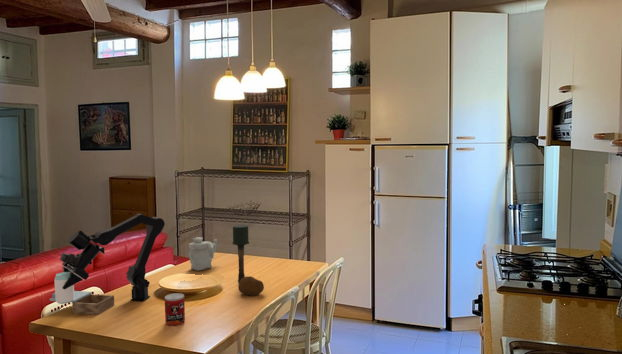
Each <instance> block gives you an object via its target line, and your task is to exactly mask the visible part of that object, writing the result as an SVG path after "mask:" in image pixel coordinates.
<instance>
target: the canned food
mask: <svg viewBox="0 0 622 354" xmlns="http://www.w3.org/2000/svg"><path fill="white" fill-rule="evenodd" d="M185 307H186V306H185V294H183V293H180V292H178V293H177V292H176V293H174V292H173V293H169V294H167V295H165V296H164V317H165V319H164V320H165V324H166V325H167V326H168V327H176V326H181V325H183V324H184V323H185V320H186V316H185V315H186V313H185V311H186V310H185V309H186V308H185Z"/></svg>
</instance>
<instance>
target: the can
mask: <svg viewBox="0 0 622 354" xmlns="http://www.w3.org/2000/svg"><path fill="white" fill-rule="evenodd" d="M69 277H70V272H63V271H61V272H58V273H55V277H54V293H55V297H56V301H55V302H56V303H57V304H60V305H62V304H63V305H64V304H69V303H73V302H72V301H73V300H74V299H75V297H74V291H75V284H74V285H72V286H70V287H68V288H66V289H63V286H64V284H65V283H66V281H67V280H68V278H69Z"/></svg>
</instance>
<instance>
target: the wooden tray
mask: <svg viewBox="0 0 622 354" xmlns="http://www.w3.org/2000/svg"><path fill="white" fill-rule="evenodd" d="M71 303H72V304H71V305H72V307H71V308H72V314H79V313H80V314H82V315H83V314H84V315H100V314H102V313H103V312H105V311H107V310H109V309H110V308H112V307H114V306H115V295H110V294H93V293H92V294H90V295H88V296H86V297H84V298H82V299H80V300H78V301H76V302H71ZM80 314H79V315H80Z"/></svg>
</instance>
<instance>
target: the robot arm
mask: <svg viewBox="0 0 622 354" xmlns="http://www.w3.org/2000/svg"><path fill="white" fill-rule="evenodd" d="M140 224H144V225H146V228H145V230H146V235H145V237H144V240H143V243H142V246H141V248H140V250H139V254H138V256H137V259H136V261H135V263H134V264H133V265H132V266H131V265H129V267H128V269H127V272H126V273H125V274H126V279H127V281H128V282H129V283H130V284H131V298H130V301H134V302H135V301H137V302H144V301H145V300H146V301H147V299H149V298H150V297H151V295H149V287H150V281H148V280H147V279H146V278H145V277H146V273H147V272H146V265H147V263H148V260H149V257H150V255H151V252H152V249H153V248H154V245H155V242H156V240H157V237H158V236H159V235H160V234H161V233H162V231H163V230H164V227H165V225H166V223H165V221H164V220H163V218H161V217H157V216H152V217H151V216H146V215H144V214H141V213H136V214H135V215H133V216H132V217H129V218H128V219H126V220H124V221H122V222H120V223H118V224H116V225H115V226H112V227H108V228H104V229H100V230H98V231H96V232H95V233H94V234H91V235H87V234H85V232H83V231H82V230H81V229H78V230H77V231H76V232H74V233H73V234H72V235H70V236H69V238H68V240H67V243H68V244H70V245H71V247H72V246H73V248H75V249H77V251H81V250H82V251H81V252H80V253H76V255H75V253H71V252H70V253H65V252H62V253H61V255H60V258H59V261H61V262H62V263H61V266H62V272H70V277H69V278H68V280H67V281H66V283H65V284H64V286H63V289H66V288H68V287H70V286H72V285H74V286H75V285H76V284H78V283H80V282H84V280H85V281H87V280H88V278H89V277H90V275H89V274H90V273H88V272H87V271H86V269H87V268H88V266H89V265H92V264H93V262H92V261H93V260H94V259H95V258H96V257H97V255H98V254H100V253H101V254H103V255H104V254H106V251H105V247H104V246H107V245H109V244H110V243H112V242H113V241H114V240H115V239H117V237H118V236H120V235H121V234H123V233H125V232H128V231H129V230H131V229H133V228H135V227H136V226H139V225H140ZM93 243H94V244H93Z"/></svg>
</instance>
